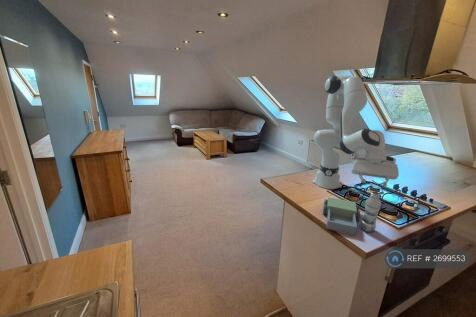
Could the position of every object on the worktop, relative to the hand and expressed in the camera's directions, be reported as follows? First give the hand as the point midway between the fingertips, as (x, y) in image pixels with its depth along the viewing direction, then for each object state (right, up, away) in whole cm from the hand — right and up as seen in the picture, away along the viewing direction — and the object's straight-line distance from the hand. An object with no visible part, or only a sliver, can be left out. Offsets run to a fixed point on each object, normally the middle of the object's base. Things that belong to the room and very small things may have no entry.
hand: (373, 184), depth 109 cm
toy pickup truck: (-13, -19, +7) cm, 24 cm away
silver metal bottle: (-4, -22, -1) cm, 23 cm away
